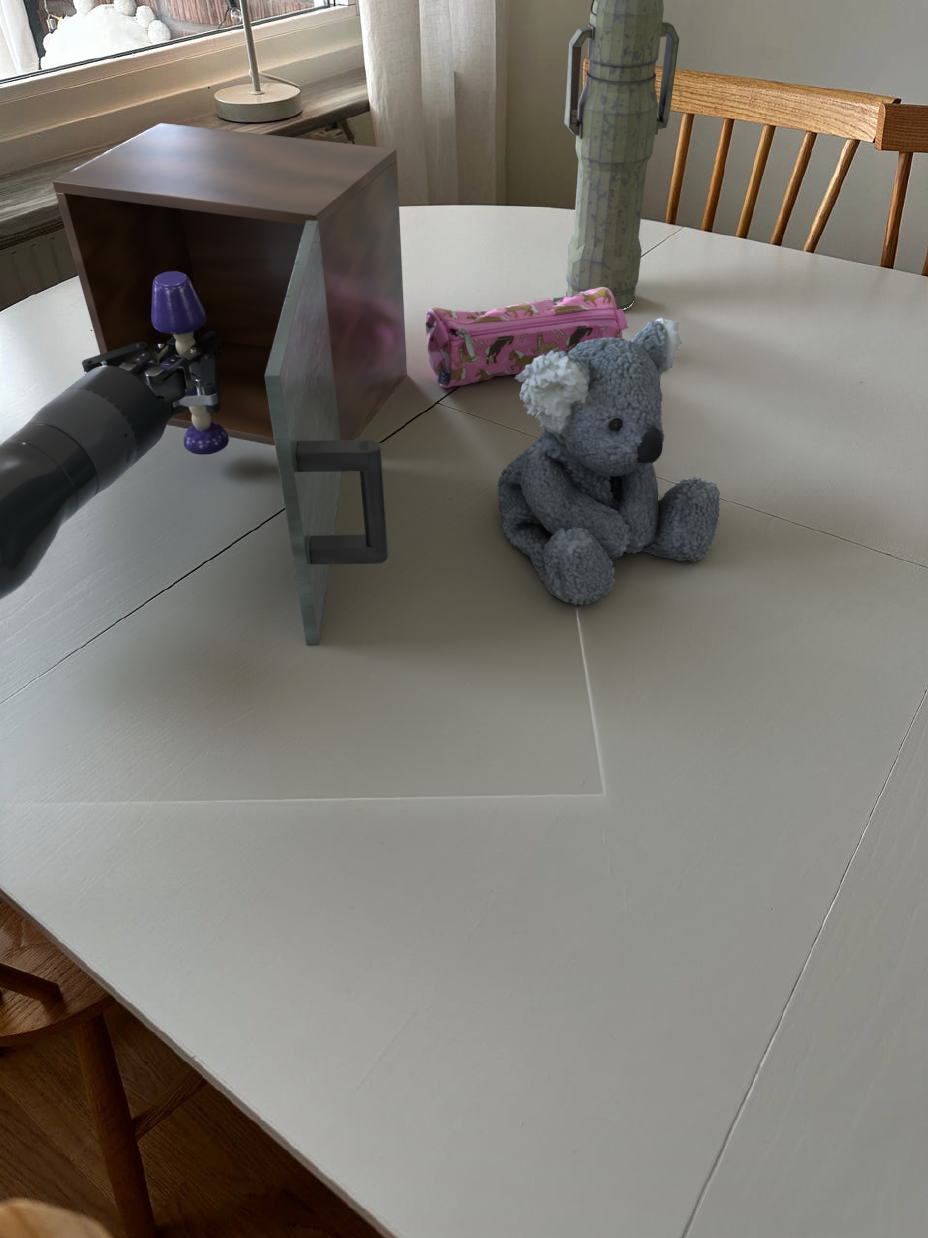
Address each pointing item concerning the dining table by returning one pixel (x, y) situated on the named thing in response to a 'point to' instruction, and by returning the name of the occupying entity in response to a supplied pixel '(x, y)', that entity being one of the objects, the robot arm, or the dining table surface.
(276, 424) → the cupboard door
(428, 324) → the pencil case
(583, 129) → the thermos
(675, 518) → the koala plush
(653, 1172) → the dining table surface
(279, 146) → the cupboard
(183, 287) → the toy lamp
